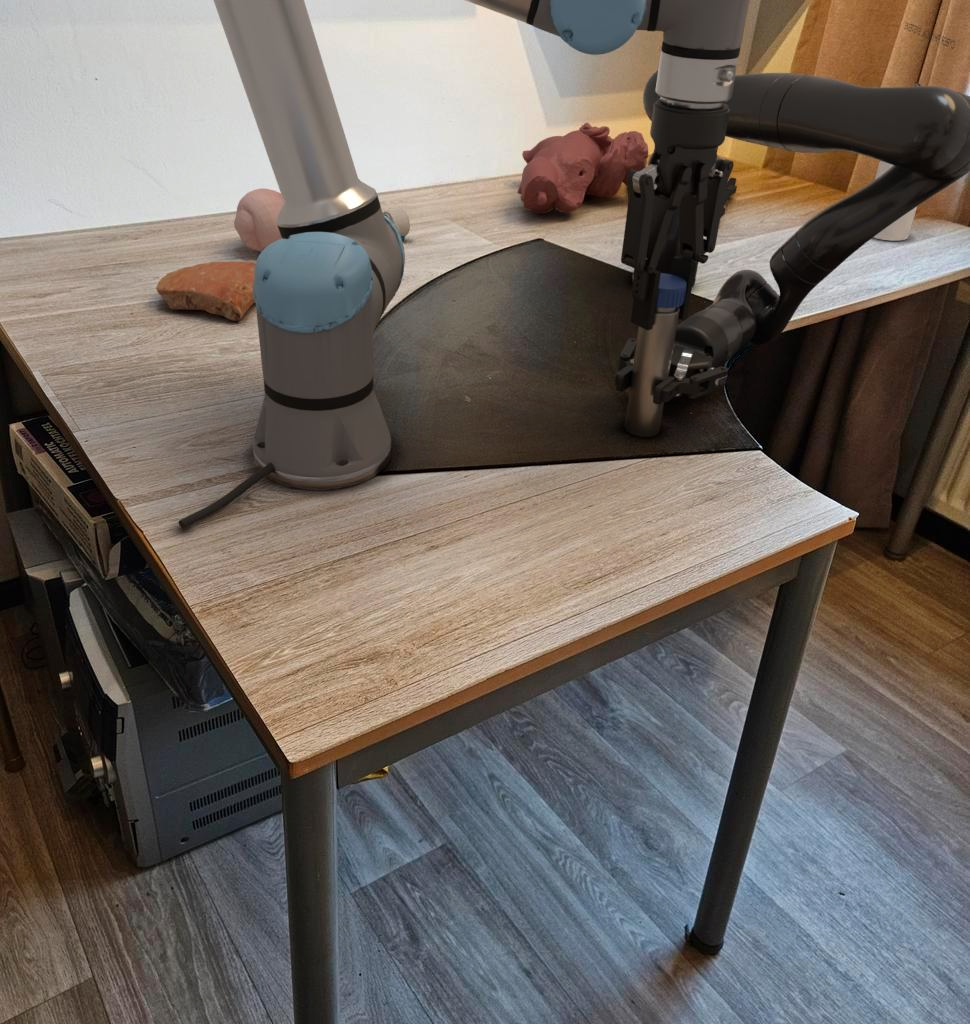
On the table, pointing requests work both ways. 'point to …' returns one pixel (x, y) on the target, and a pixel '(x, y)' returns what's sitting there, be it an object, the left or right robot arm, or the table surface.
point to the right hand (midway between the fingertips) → (638, 389)
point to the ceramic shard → (211, 288)
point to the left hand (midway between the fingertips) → (658, 320)
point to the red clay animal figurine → (579, 167)
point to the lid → (671, 291)
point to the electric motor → (399, 221)
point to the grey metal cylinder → (650, 373)
